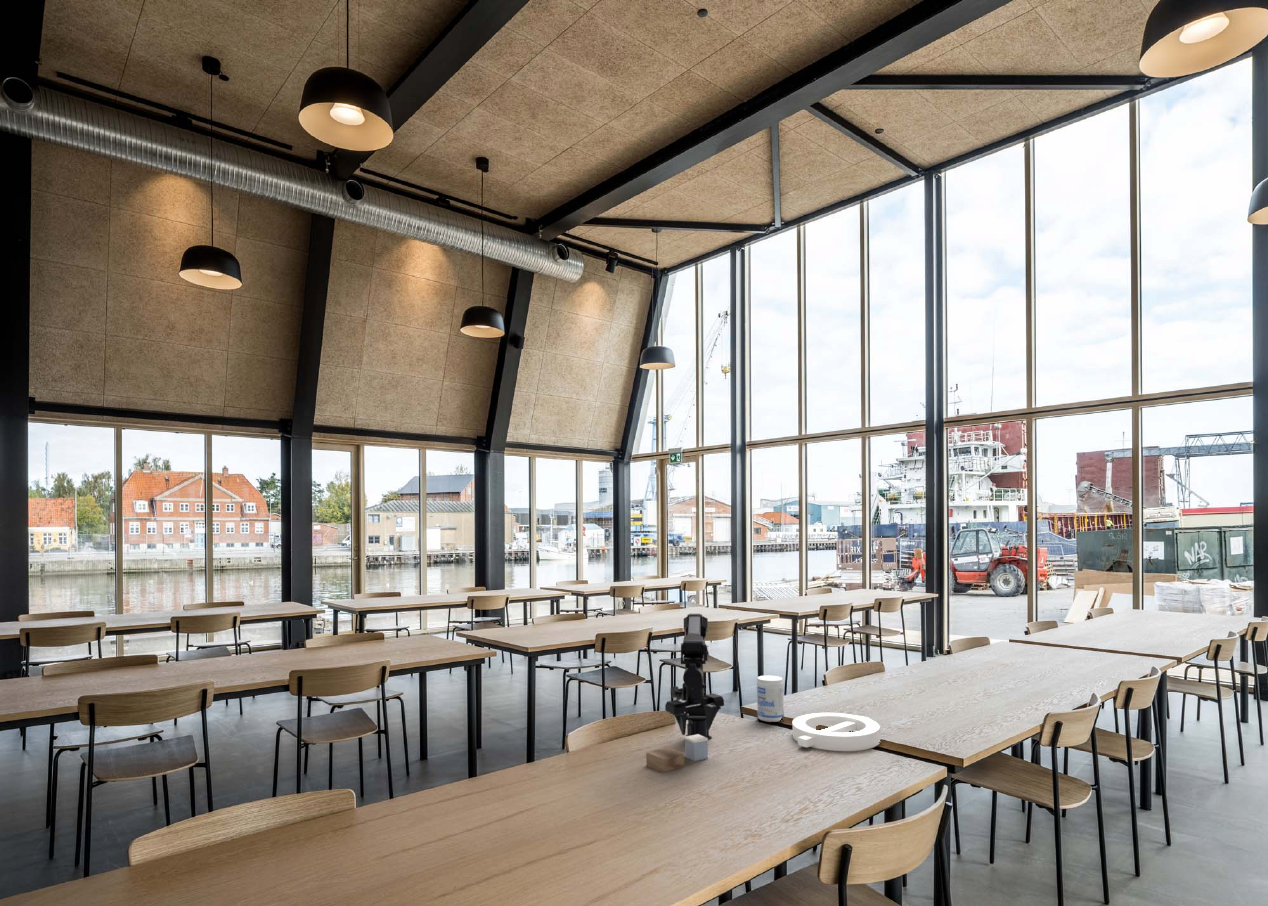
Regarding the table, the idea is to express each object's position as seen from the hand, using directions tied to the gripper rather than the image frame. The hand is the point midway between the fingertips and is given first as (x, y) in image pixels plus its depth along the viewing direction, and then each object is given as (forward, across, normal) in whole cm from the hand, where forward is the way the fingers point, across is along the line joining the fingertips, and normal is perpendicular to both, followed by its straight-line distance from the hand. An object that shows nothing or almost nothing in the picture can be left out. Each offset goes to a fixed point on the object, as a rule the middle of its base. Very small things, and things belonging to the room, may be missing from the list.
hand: (695, 732), depth 219 cm
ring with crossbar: (+8, -50, +9) cm, 51 cm away
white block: (+8, 0, 0) cm, 8 cm away
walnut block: (+8, +12, +1) cm, 14 cm away
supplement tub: (+8, -47, -20) cm, 52 cm away
